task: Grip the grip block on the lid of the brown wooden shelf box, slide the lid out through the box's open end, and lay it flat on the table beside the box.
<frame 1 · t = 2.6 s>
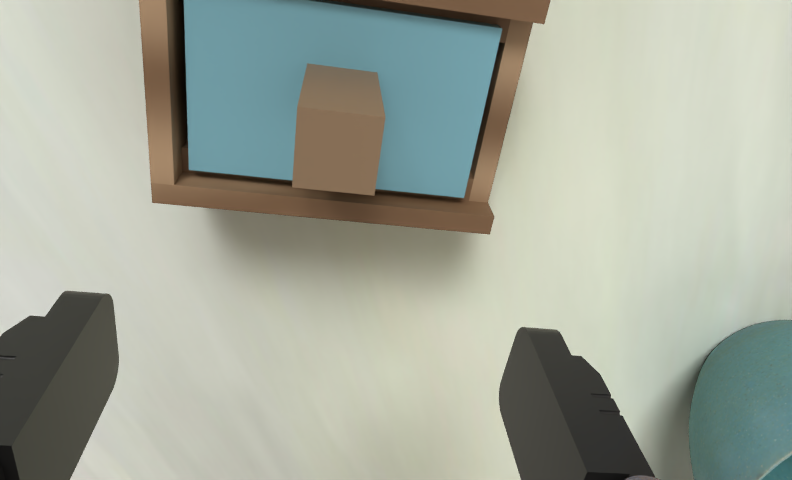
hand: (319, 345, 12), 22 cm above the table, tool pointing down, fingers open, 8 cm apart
lid: (339, 96, 26), point 5 cm above the table, touching brown wooden shelf box
plant pot: (752, 362, 44), on the table
brown wooden shelf box: (340, 69, 31), on the table
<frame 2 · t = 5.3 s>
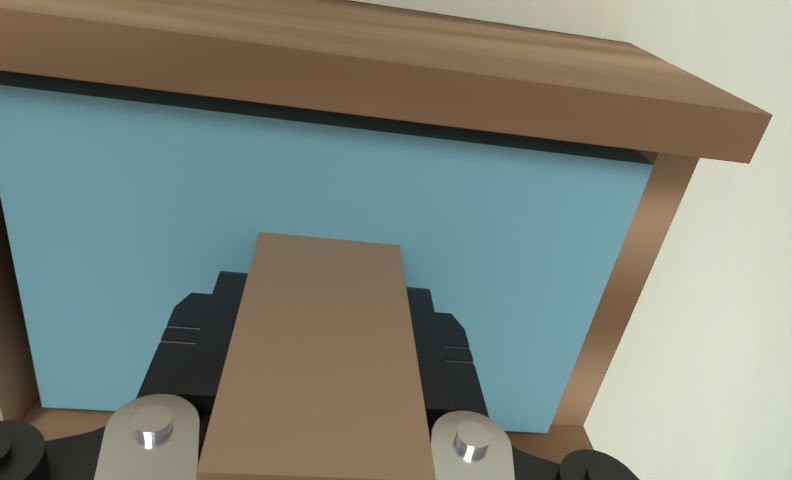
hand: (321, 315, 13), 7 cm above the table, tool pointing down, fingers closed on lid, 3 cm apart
lid: (325, 275, 14), point 5 cm above the table, touching gripper, brown wooden shelf box
brown wooden shelf box: (329, 187, 18), on the table
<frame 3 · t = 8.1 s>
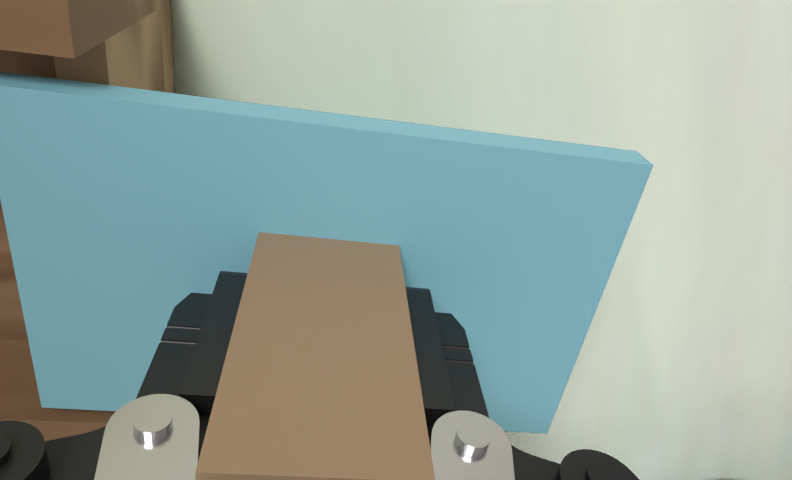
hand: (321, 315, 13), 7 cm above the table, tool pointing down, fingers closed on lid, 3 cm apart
lid: (324, 276, 14), point 6 cm above the table, touching gripper
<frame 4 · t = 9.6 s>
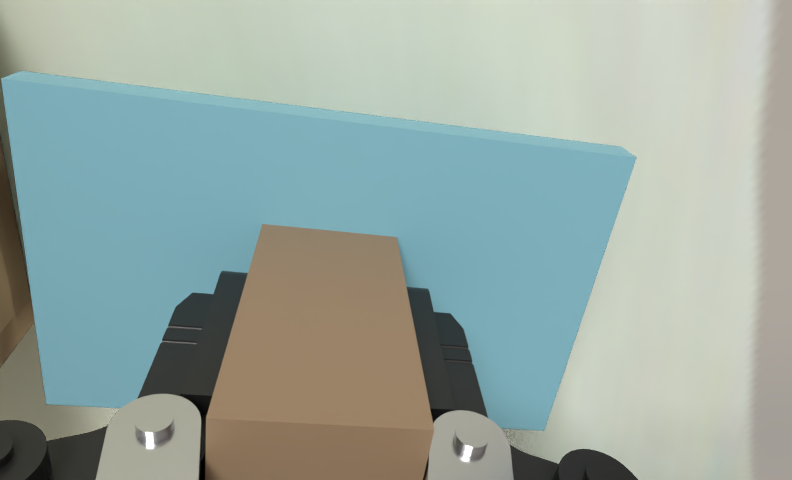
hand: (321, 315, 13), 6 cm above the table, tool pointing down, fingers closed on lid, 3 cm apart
lid: (325, 271, 14), point 4 cm above the table, touching gripper
when the fingers open (2 cm above the table, at t = 10.9 s): lid stays where it is, on the table.
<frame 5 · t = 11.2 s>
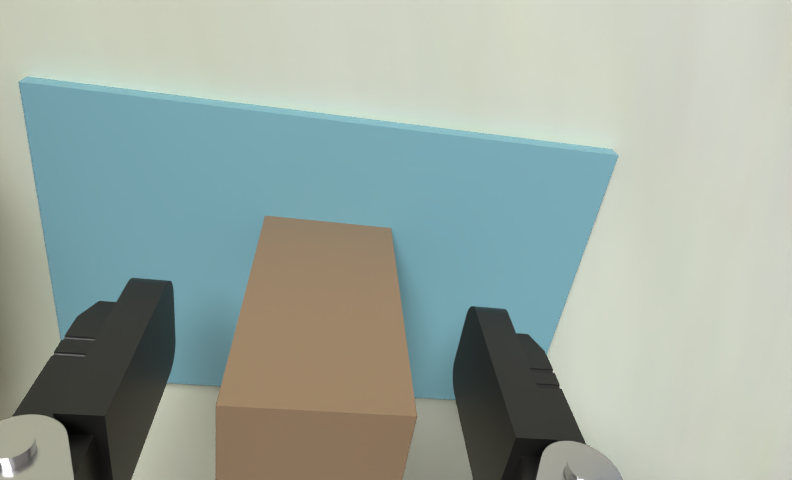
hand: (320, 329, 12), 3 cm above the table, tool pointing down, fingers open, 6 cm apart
lid: (324, 257, 15), on the table
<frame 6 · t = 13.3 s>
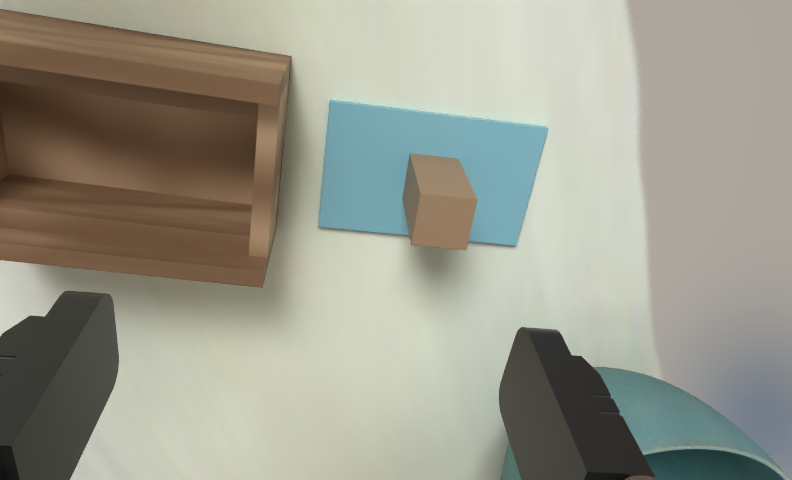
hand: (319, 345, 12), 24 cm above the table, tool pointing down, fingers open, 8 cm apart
lid: (428, 174, 37), on the table
plant pot: (580, 406, 47), on the table
brown wooden shelf box: (142, 130, 34), on the table
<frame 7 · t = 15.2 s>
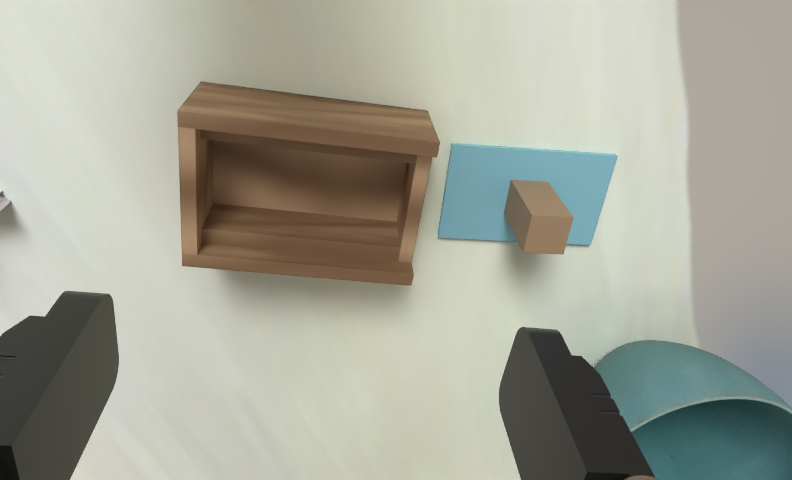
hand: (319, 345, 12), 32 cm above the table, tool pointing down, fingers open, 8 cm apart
lid: (522, 193, 47), on the table
plant pot: (632, 372, 58), on the table
brown wooden shelf box: (310, 167, 44), on the table
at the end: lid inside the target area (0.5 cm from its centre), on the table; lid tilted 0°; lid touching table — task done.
